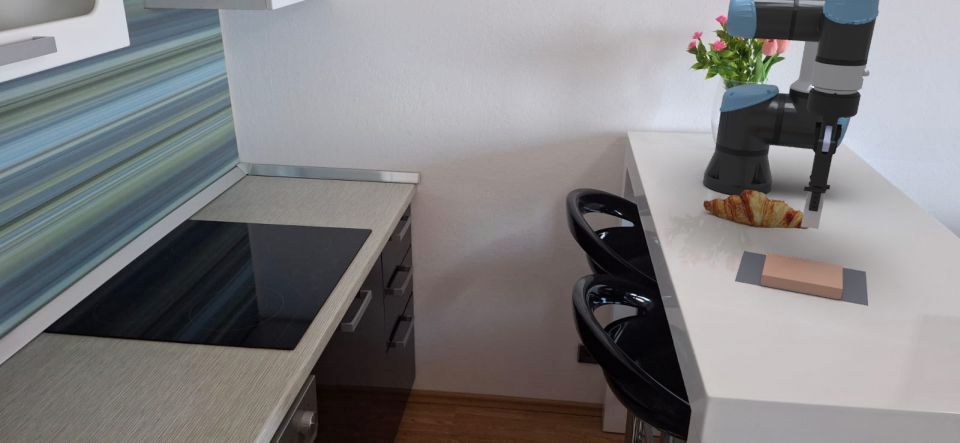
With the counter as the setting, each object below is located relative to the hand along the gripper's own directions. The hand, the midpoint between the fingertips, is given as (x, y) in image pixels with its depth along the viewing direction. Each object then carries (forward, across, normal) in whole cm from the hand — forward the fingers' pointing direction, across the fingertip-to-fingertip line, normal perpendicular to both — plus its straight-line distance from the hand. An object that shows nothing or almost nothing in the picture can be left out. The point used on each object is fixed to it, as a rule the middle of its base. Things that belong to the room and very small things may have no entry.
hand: (809, 226), depth 128 cm
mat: (+8, -5, 0) cm, 9 cm away
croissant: (+9, +20, +10) cm, 24 cm away
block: (+6, -2, 0) cm, 7 cm away
